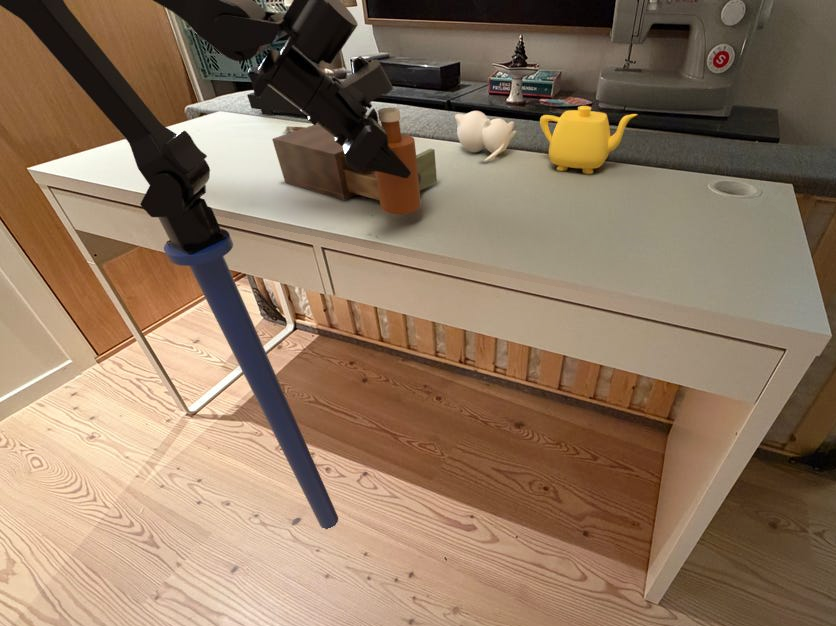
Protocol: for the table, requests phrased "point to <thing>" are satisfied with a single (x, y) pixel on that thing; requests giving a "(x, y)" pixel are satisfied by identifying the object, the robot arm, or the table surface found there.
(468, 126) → the cat figurine
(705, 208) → the table surface
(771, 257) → the table surface
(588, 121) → the teapot
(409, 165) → the bottle
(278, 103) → the black angular piece
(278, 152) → the cabinet
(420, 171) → the drawer
